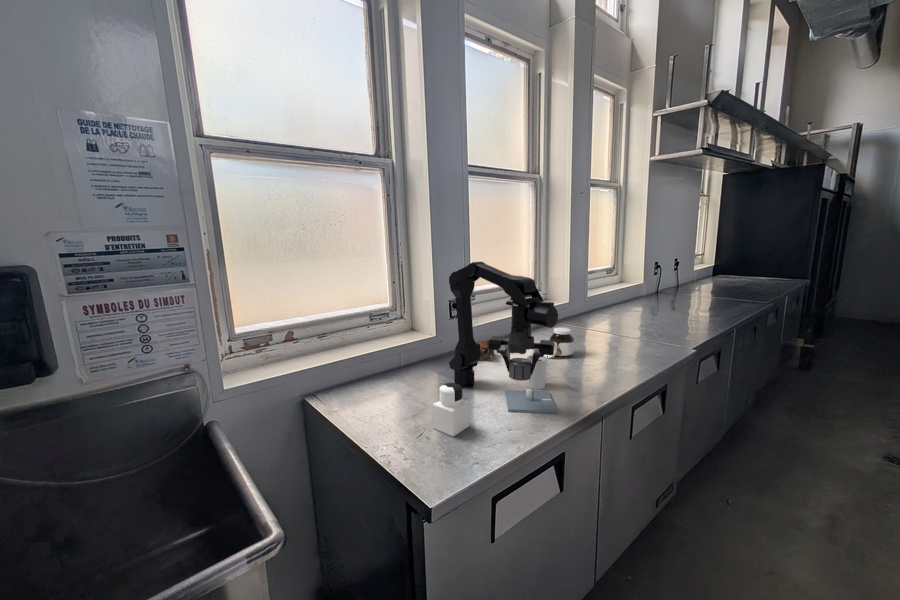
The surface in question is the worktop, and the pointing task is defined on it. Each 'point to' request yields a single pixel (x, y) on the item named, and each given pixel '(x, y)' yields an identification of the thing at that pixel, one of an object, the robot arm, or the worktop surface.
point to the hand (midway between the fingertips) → (520, 373)
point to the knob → (520, 369)
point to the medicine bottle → (451, 410)
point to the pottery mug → (485, 350)
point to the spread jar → (562, 343)
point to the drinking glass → (538, 373)
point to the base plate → (529, 401)
